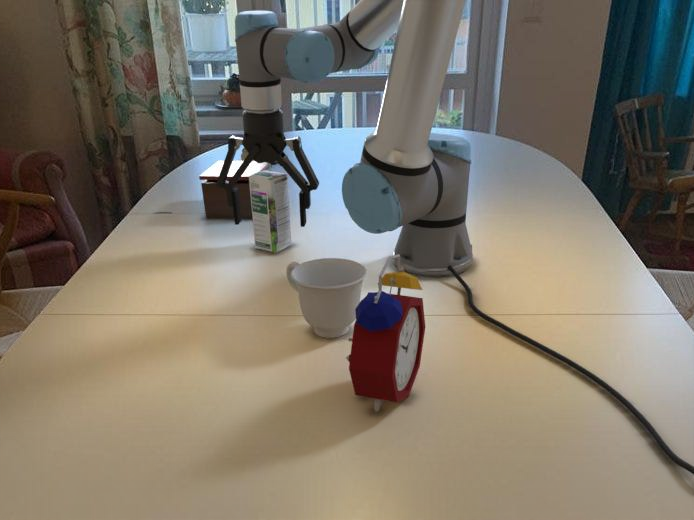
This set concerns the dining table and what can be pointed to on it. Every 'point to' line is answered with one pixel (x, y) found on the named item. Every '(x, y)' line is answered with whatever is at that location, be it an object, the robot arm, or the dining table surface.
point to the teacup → (328, 293)
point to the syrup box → (270, 210)
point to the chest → (218, 200)
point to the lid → (233, 170)
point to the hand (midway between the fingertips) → (270, 223)
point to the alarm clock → (387, 339)
